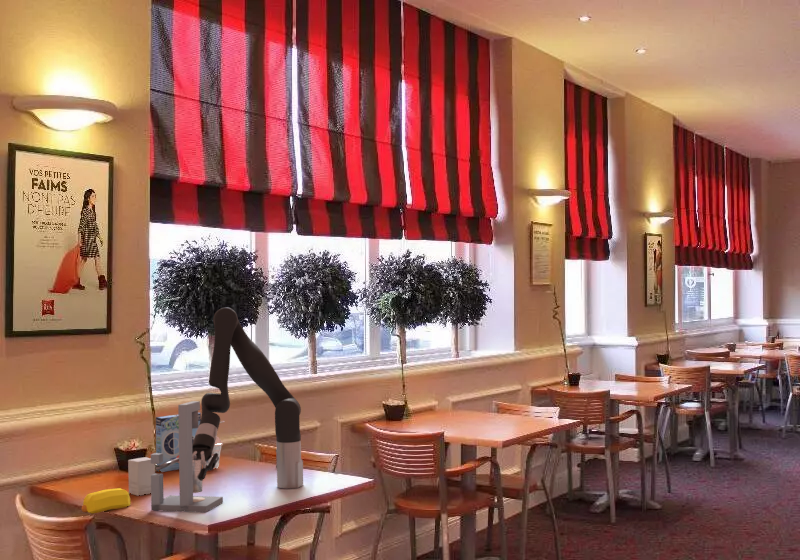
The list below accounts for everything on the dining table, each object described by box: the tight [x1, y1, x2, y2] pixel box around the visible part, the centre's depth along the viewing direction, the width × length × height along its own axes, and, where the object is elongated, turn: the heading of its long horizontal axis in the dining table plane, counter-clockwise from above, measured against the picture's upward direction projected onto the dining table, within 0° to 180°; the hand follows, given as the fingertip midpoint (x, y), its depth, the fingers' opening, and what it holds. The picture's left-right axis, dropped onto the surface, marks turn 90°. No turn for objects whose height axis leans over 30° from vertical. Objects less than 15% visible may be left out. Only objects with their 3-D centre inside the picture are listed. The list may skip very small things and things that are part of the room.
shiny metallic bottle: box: [193, 455, 203, 494], centre depth 301 cm, size 5×5×12 cm
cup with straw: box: [207, 420, 225, 470], centre depth 368 cm, size 8×9×20 cm
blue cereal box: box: [155, 412, 202, 473], centre depth 369 cm, size 20×5×23 cm, turn 134°
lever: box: [155, 455, 179, 472], centre depth 304 cm, size 3×20×3 cm, turn 168°
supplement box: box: [127, 456, 156, 497], centre depth 321 cm, size 7×7×13 cm
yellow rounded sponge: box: [81, 487, 132, 515], centre depth 297 cm, size 18×7×8 cm
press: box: [150, 400, 224, 513], centre depth 299 cm, size 20×14×36 cm
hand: (193, 479), depth 299 cm, fingers closed on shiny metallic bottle, 4 cm apart
